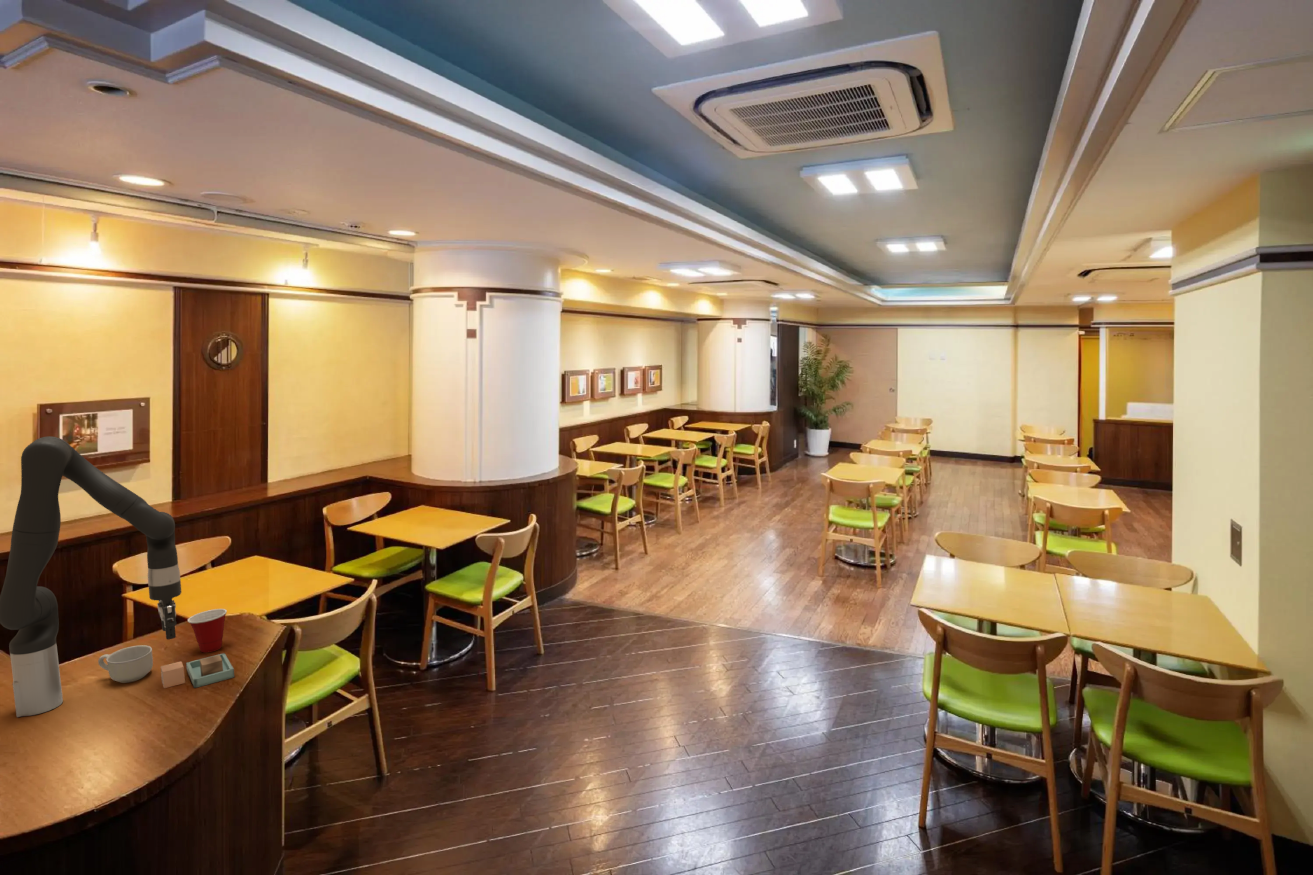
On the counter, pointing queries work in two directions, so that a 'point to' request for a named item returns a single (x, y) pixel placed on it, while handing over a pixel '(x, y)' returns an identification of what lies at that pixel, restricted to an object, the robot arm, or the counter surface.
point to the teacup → (128, 663)
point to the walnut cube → (211, 665)
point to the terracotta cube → (172, 674)
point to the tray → (198, 681)
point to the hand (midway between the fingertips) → (169, 634)
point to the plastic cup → (209, 629)
